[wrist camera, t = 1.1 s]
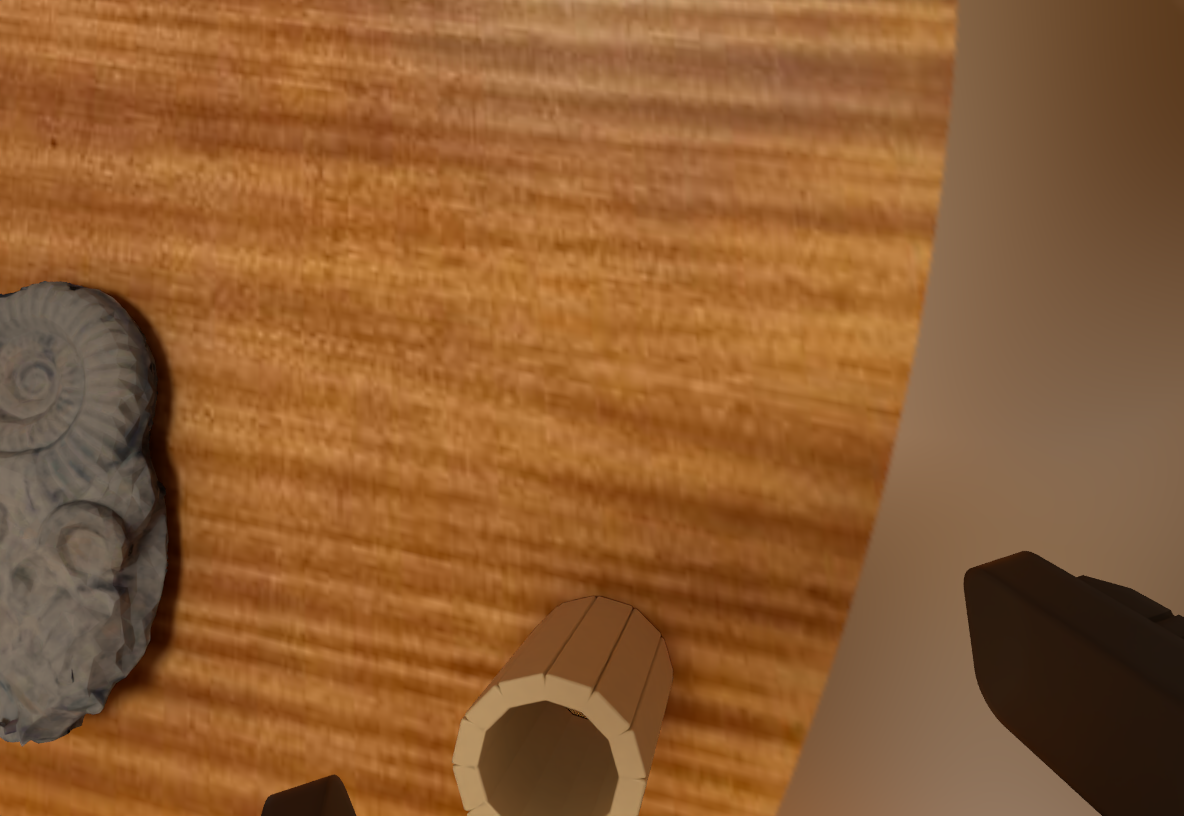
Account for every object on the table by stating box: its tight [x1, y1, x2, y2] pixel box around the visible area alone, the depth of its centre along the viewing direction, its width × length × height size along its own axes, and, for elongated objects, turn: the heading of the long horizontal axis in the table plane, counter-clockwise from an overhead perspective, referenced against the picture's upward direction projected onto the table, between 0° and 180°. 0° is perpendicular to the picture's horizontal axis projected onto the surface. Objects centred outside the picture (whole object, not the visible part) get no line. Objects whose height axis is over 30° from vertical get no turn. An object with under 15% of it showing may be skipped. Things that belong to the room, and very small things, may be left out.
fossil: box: [0, 281, 168, 746], centre depth 33 cm, size 13×18×4 cm
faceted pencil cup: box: [452, 596, 673, 816], centre depth 27 cm, size 6×6×8 cm
